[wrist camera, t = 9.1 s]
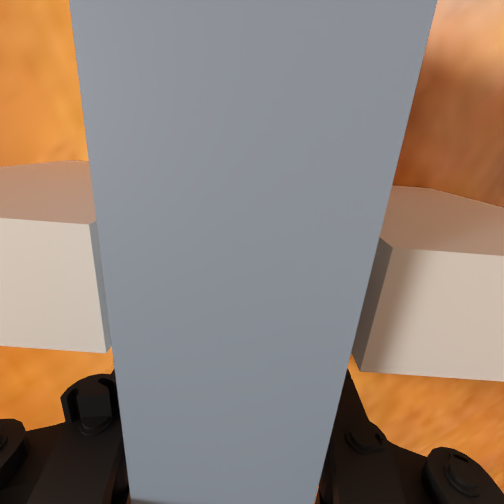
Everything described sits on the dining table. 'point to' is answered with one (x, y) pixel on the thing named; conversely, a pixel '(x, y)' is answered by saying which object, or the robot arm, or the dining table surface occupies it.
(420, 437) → the dining table surface
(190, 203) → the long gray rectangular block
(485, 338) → the cream slotted board
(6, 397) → the dining table surface
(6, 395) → the dining table surface
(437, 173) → the dining table surface
